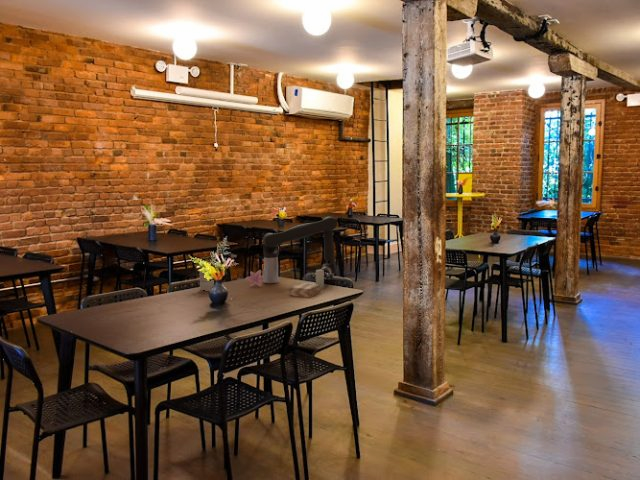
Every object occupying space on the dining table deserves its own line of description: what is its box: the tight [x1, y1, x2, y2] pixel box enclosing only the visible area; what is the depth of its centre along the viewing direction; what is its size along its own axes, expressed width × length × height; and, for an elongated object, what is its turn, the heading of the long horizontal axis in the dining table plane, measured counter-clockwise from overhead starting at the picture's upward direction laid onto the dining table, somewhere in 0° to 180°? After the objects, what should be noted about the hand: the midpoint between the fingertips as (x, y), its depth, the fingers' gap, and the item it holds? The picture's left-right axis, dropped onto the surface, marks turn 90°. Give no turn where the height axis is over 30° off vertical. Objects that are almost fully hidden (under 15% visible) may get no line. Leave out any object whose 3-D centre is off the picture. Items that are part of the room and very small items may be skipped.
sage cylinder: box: [315, 269, 325, 291], centre depth 373 cm, size 5×5×12 cm
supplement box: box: [199, 262, 214, 292], centre depth 376 cm, size 10×9×17 cm
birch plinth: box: [288, 282, 321, 298], centre depth 359 cm, size 14×14×5 cm
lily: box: [244, 269, 265, 287], centre depth 388 cm, size 12×12×10 cm
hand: (320, 277), depth 373 cm, fingers open, 8 cm apart
